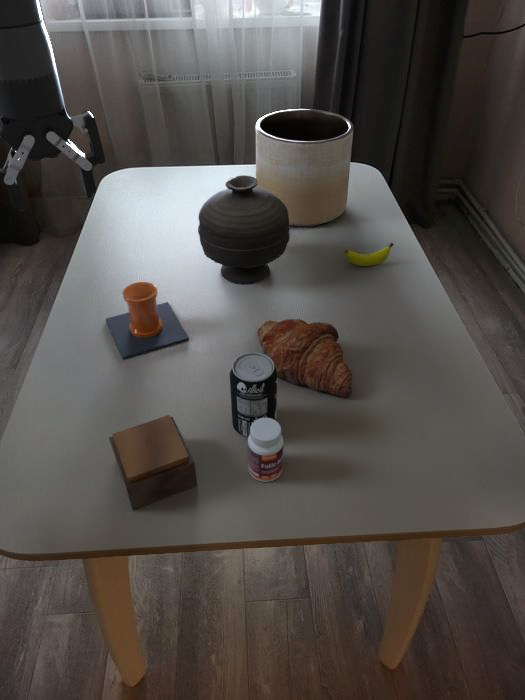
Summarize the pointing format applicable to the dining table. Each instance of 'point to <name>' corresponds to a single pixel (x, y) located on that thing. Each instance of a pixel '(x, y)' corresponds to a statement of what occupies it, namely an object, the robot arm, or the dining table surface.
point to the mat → (136, 346)
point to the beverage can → (252, 390)
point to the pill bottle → (265, 450)
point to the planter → (305, 162)
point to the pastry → (306, 355)
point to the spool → (143, 309)
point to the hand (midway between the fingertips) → (56, 202)
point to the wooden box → (153, 461)
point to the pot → (244, 230)
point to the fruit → (368, 257)
